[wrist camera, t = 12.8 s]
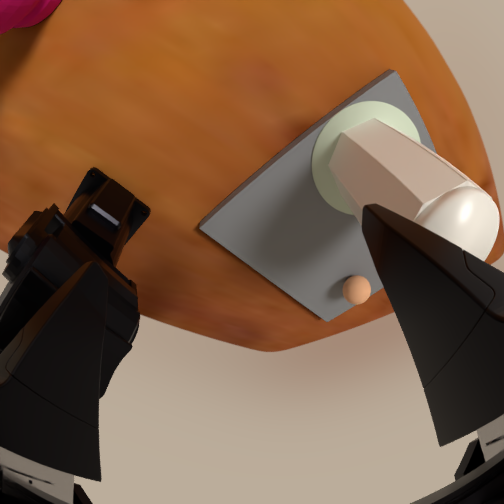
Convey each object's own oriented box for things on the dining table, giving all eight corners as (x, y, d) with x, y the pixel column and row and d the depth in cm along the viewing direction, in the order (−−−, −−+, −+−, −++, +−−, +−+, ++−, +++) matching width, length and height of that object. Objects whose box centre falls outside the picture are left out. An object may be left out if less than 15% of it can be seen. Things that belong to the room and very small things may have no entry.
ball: (346, 292, 29) (355, 314, 27) (334, 280, 28) (342, 302, 26) (369, 278, 28) (379, 299, 26) (357, 264, 27) (368, 286, 24)
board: (325, 315, 33) (327, 323, 33) (200, 221, 23) (199, 229, 22) (456, 225, 26) (461, 230, 25) (389, 69, 15) (397, 71, 14)
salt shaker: (384, 208, 22) (451, 302, 14) (318, 187, 21) (376, 296, 12) (418, 140, 18) (513, 216, 10) (351, 107, 16) (455, 172, 8)
